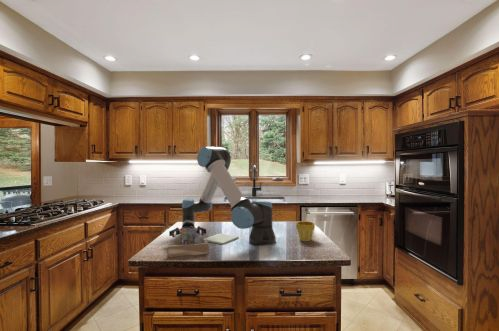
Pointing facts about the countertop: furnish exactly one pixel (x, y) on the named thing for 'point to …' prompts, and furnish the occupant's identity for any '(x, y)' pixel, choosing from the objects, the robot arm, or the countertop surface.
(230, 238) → the board
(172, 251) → the mug holder
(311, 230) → the plant pot
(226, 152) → the robot arm
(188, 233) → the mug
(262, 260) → the countertop surface
